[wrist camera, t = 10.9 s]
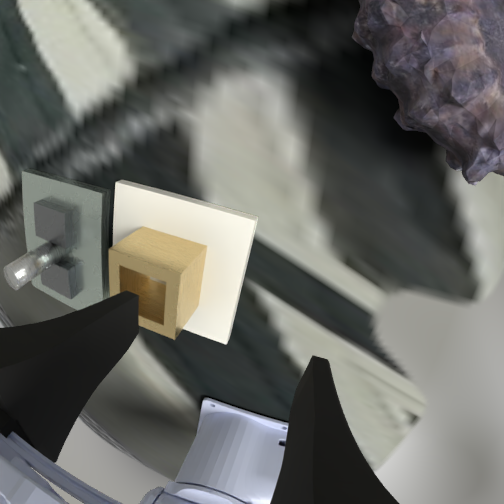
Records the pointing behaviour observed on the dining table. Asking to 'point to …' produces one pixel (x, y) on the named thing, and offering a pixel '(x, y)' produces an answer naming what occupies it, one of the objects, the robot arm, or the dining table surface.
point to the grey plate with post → (64, 239)
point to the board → (200, 231)
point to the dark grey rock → (443, 73)
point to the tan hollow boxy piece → (159, 277)
